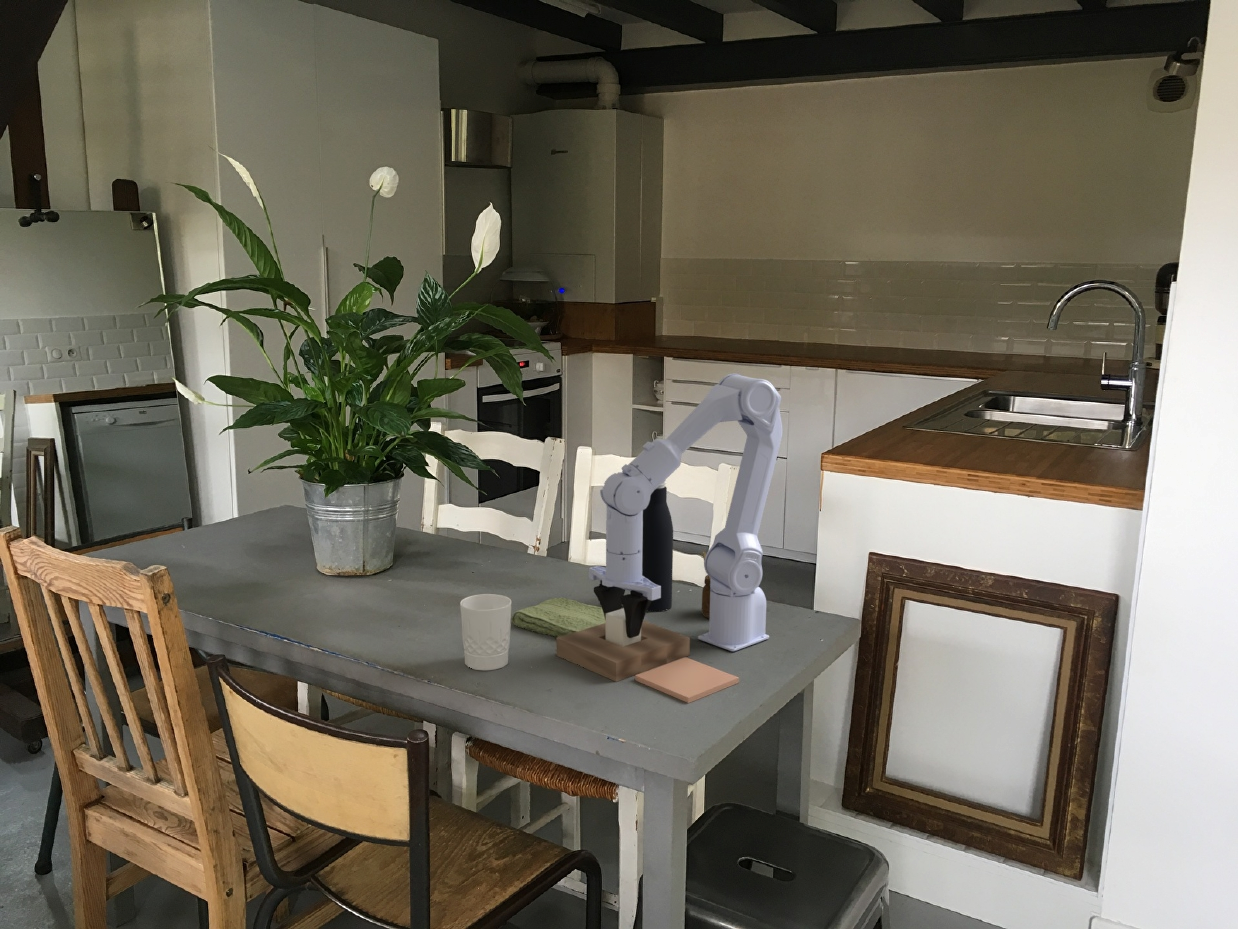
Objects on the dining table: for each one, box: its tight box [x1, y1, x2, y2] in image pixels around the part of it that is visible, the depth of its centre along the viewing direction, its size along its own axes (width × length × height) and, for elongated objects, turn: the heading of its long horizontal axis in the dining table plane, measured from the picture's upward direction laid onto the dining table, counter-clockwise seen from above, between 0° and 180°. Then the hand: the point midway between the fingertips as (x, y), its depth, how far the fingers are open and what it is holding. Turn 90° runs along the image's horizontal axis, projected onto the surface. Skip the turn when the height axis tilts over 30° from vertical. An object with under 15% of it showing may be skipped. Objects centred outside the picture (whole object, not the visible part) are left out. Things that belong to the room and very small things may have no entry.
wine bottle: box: [642, 479, 674, 612], centre depth 187 cm, size 6×6×30 cm
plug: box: [606, 608, 641, 647], centre depth 165 cm, size 4×4×7 cm
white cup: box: [459, 593, 512, 671], centre depth 161 cm, size 8×8×10 cm
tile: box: [634, 656, 740, 704], centre depth 156 cm, size 11×11×1 cm
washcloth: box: [511, 597, 606, 638], centre depth 179 cm, size 13×18×3 cm
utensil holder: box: [701, 551, 711, 619], centre depth 184 cm, size 6×6×12 cm
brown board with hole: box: [555, 620, 691, 682], centre depth 165 cm, size 16×14×3 cm
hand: (623, 632), depth 165 cm, fingers closed on plug, 4 cm apart
